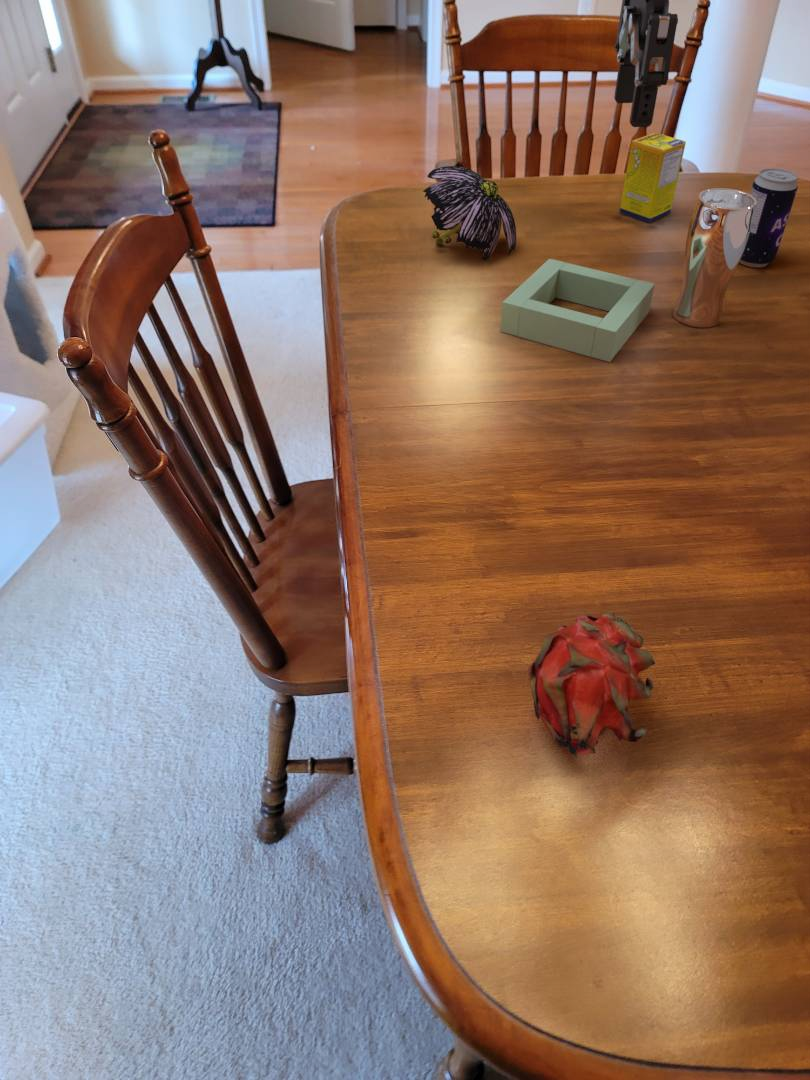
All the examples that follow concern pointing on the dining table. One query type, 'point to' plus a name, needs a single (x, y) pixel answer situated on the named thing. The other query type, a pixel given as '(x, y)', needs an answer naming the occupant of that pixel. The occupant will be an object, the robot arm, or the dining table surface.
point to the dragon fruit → (590, 681)
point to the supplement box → (651, 177)
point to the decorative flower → (469, 210)
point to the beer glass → (713, 254)
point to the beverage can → (769, 215)
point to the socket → (572, 329)
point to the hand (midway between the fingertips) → (631, 113)
